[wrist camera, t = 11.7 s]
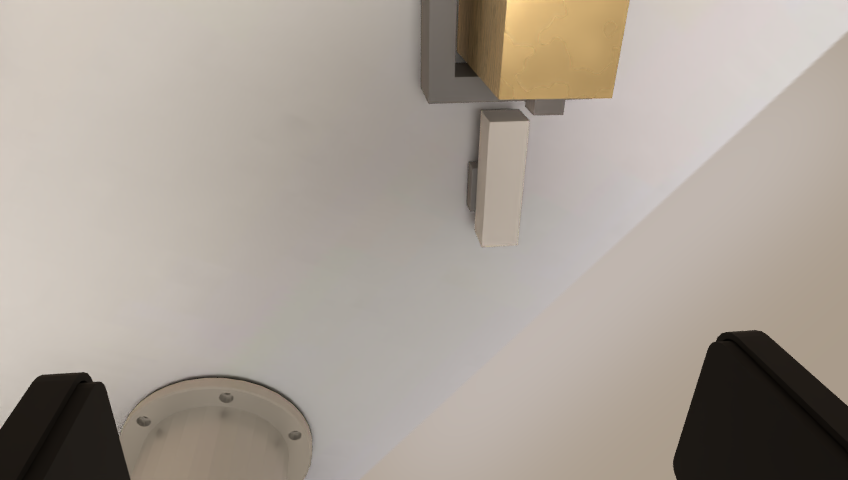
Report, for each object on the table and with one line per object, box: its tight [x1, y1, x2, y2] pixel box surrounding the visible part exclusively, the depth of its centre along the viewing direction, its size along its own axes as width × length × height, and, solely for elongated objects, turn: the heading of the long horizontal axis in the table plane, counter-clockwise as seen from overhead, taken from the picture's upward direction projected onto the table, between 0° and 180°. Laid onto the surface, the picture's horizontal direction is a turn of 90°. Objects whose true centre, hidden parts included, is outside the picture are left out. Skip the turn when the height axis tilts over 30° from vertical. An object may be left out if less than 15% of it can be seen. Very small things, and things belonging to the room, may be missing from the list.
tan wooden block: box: [457, 0, 630, 115], centre depth 24 cm, size 4×6×9 cm
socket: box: [421, 0, 592, 247], centre depth 27 cm, size 9×24×3 cm, turn 0°
